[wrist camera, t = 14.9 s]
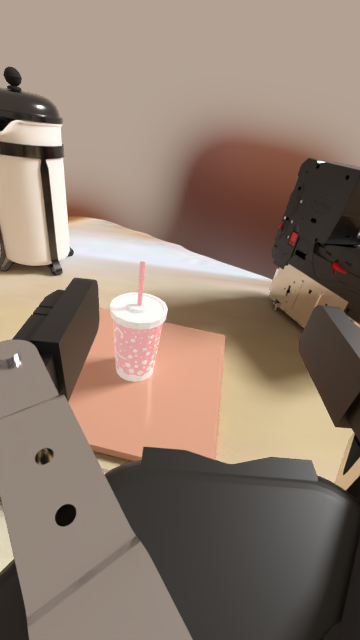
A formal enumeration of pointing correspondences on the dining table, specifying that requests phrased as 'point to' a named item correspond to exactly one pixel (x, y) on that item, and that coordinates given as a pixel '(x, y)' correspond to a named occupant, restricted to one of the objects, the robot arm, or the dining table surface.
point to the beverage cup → (137, 331)
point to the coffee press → (31, 179)
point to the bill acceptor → (319, 243)
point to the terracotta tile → (152, 395)
